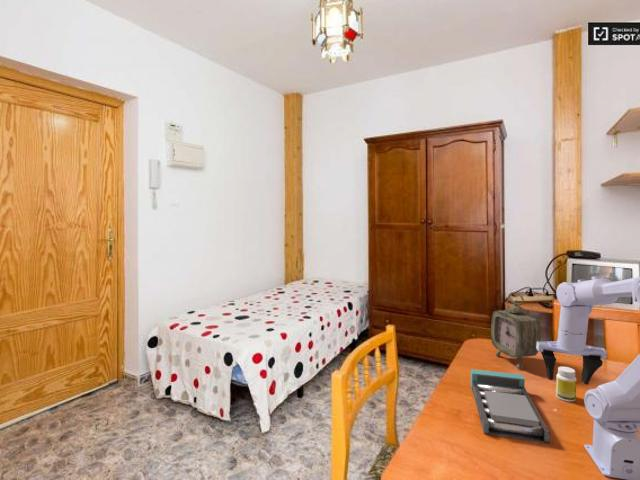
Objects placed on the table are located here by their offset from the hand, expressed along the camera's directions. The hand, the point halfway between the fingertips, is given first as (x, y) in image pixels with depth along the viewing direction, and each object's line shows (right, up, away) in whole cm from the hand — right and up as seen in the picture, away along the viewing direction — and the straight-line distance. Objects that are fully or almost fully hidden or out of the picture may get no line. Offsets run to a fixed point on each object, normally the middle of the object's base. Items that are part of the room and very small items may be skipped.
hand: (567, 380), depth 89 cm
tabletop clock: (+6, -8, +36) cm, 37 cm away
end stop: (-10, -9, +16) cm, 21 cm away
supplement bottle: (+8, -10, +11) cm, 17 cm away
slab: (-15, -8, 0) cm, 17 cm away
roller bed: (-13, -10, +4) cm, 17 cm away
